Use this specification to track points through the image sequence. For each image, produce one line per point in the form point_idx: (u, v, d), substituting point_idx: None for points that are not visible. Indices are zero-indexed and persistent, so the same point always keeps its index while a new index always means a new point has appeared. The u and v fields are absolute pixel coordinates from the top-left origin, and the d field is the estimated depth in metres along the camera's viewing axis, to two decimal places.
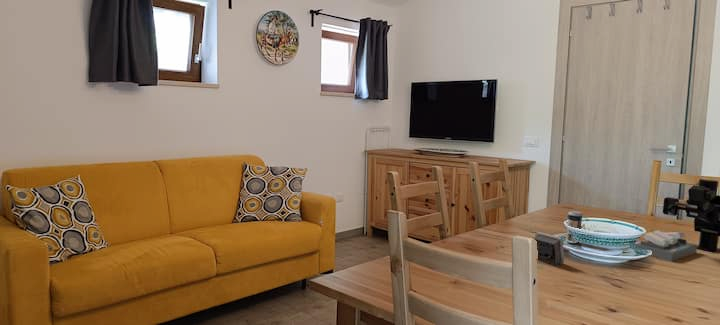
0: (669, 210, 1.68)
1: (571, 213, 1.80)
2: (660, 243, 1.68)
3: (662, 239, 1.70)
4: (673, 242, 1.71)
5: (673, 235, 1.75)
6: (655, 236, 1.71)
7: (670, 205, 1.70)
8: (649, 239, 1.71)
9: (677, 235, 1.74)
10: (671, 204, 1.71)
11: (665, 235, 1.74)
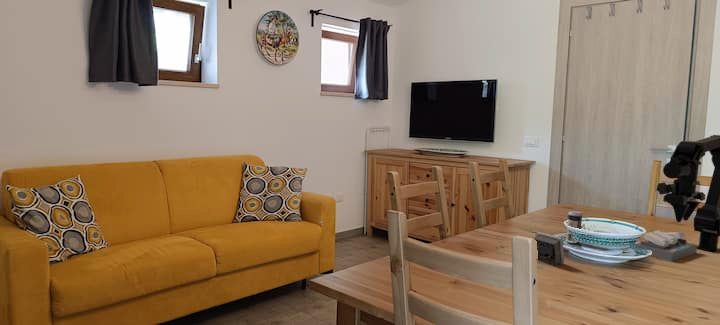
0: (685, 218, 1.70)
1: (571, 213, 1.80)
2: (660, 243, 1.68)
3: (662, 239, 1.70)
4: (673, 242, 1.71)
5: (673, 235, 1.75)
6: (655, 236, 1.71)
7: None
8: (649, 239, 1.71)
9: (677, 235, 1.74)
10: None
11: (665, 235, 1.74)
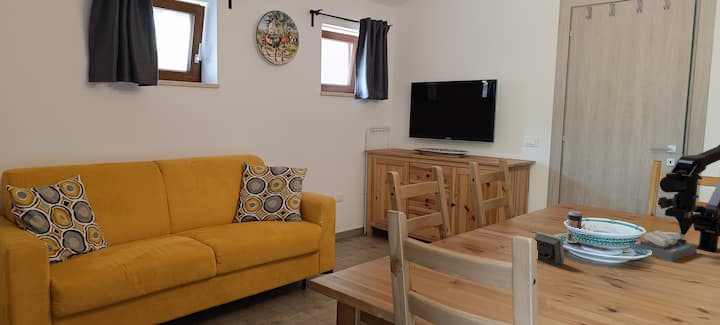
0: None
1: (571, 213, 1.80)
2: (660, 243, 1.68)
3: (662, 239, 1.70)
4: (673, 242, 1.71)
5: (673, 235, 1.75)
6: (655, 236, 1.71)
7: None
8: (649, 239, 1.71)
9: (677, 236, 1.74)
10: None
11: (665, 235, 1.74)
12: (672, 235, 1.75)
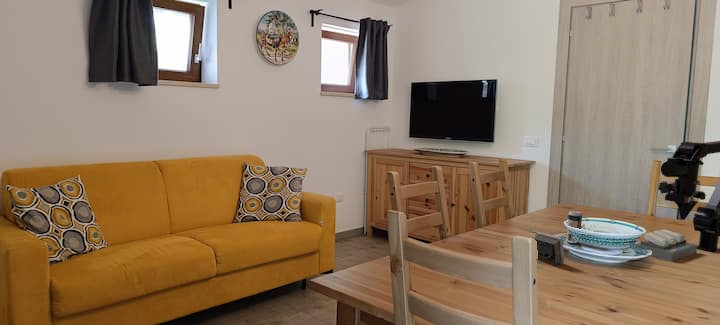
0: None
1: (571, 213, 1.80)
2: (660, 243, 1.68)
3: (662, 239, 1.70)
4: (673, 242, 1.71)
5: (674, 237, 1.75)
6: (655, 236, 1.71)
7: None
8: (649, 239, 1.71)
9: (677, 238, 1.74)
10: None
11: (665, 235, 1.74)
12: (673, 236, 1.75)
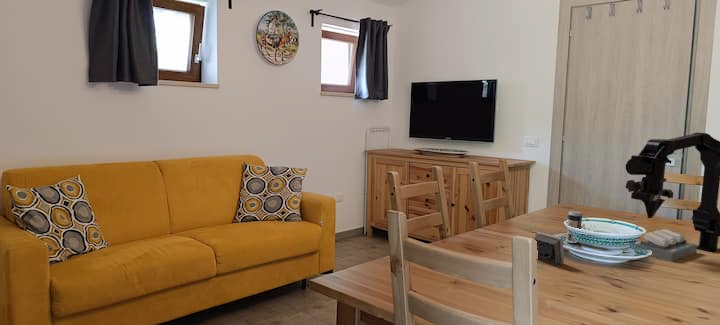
0: None
1: (571, 213, 1.80)
2: (660, 243, 1.68)
3: (662, 239, 1.70)
4: (673, 242, 1.71)
5: (674, 237, 1.75)
6: (655, 236, 1.71)
7: None
8: (649, 239, 1.71)
9: (677, 238, 1.74)
10: None
11: (665, 235, 1.74)
12: (673, 236, 1.75)
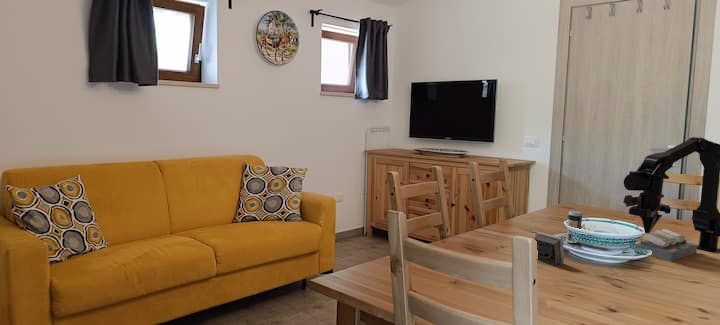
0: None
1: (571, 213, 1.80)
2: (660, 243, 1.68)
3: (662, 239, 1.70)
4: (673, 242, 1.71)
5: (674, 237, 1.75)
6: (655, 236, 1.71)
7: None
8: (649, 239, 1.71)
9: None
10: None
11: (665, 235, 1.74)
12: (673, 236, 1.75)
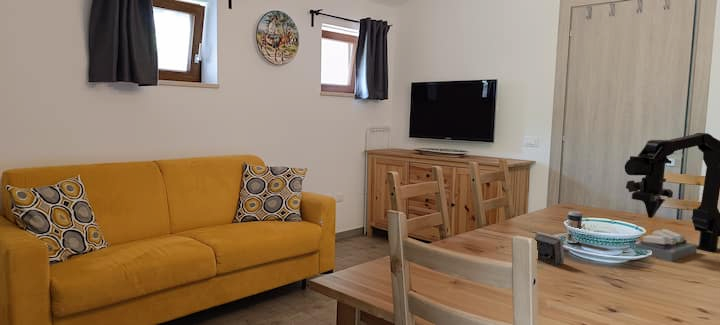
0: None
1: (571, 213, 1.80)
2: (660, 241, 1.68)
3: (661, 237, 1.70)
4: (673, 242, 1.71)
5: (674, 237, 1.75)
6: (653, 236, 1.71)
7: None
8: (649, 240, 1.71)
9: None
10: None
11: (665, 235, 1.74)
12: (673, 236, 1.75)
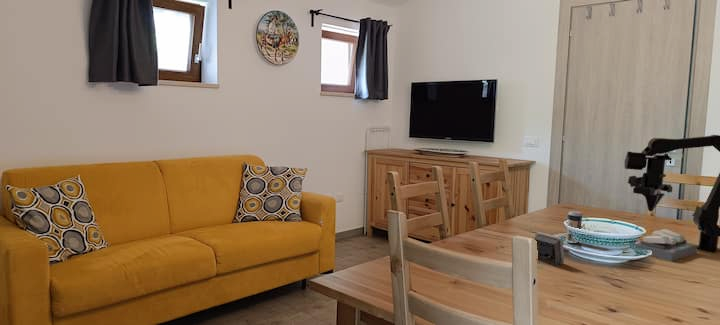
0: None
1: (571, 213, 1.80)
2: (660, 240, 1.68)
3: (661, 237, 1.70)
4: (673, 242, 1.71)
5: (674, 237, 1.75)
6: (653, 237, 1.72)
7: None
8: (649, 241, 1.71)
9: None
10: None
11: (665, 235, 1.74)
12: (673, 236, 1.75)
